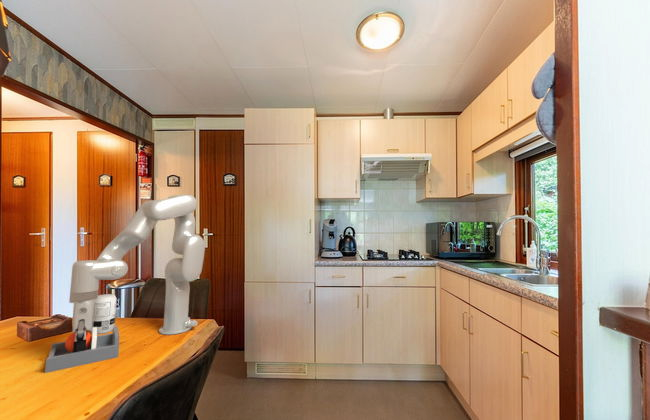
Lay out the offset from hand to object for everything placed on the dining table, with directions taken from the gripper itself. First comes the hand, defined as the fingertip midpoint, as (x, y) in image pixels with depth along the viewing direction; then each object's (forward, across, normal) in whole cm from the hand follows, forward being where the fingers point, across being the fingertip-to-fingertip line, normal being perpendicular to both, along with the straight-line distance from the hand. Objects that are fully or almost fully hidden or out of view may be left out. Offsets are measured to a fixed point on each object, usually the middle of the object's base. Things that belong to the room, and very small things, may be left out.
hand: (79, 348), depth 96 cm
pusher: (+2, 0, -4) cm, 4 cm away
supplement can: (+3, +26, -7) cm, 27 cm away
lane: (+3, 0, -2) cm, 3 cm away
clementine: (+1, 0, 0) cm, 1 cm away
